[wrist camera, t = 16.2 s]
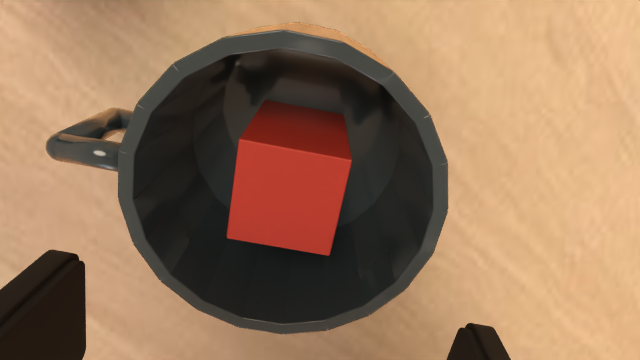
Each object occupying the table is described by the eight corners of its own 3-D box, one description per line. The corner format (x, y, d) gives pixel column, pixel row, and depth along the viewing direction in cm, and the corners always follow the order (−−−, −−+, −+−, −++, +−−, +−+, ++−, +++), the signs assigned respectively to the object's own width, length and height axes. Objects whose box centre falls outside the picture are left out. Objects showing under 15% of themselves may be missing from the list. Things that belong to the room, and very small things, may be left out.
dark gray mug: (435, 50, 22) (496, 72, 14) (377, 253, 27) (399, 353, 19) (123, -15, 21) (5, -29, 13) (120, 208, 26) (31, 295, 18)
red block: (344, 114, 23) (352, 160, 16) (328, 186, 25) (329, 256, 18) (264, 99, 23) (238, 138, 16) (254, 173, 24) (226, 238, 17)
